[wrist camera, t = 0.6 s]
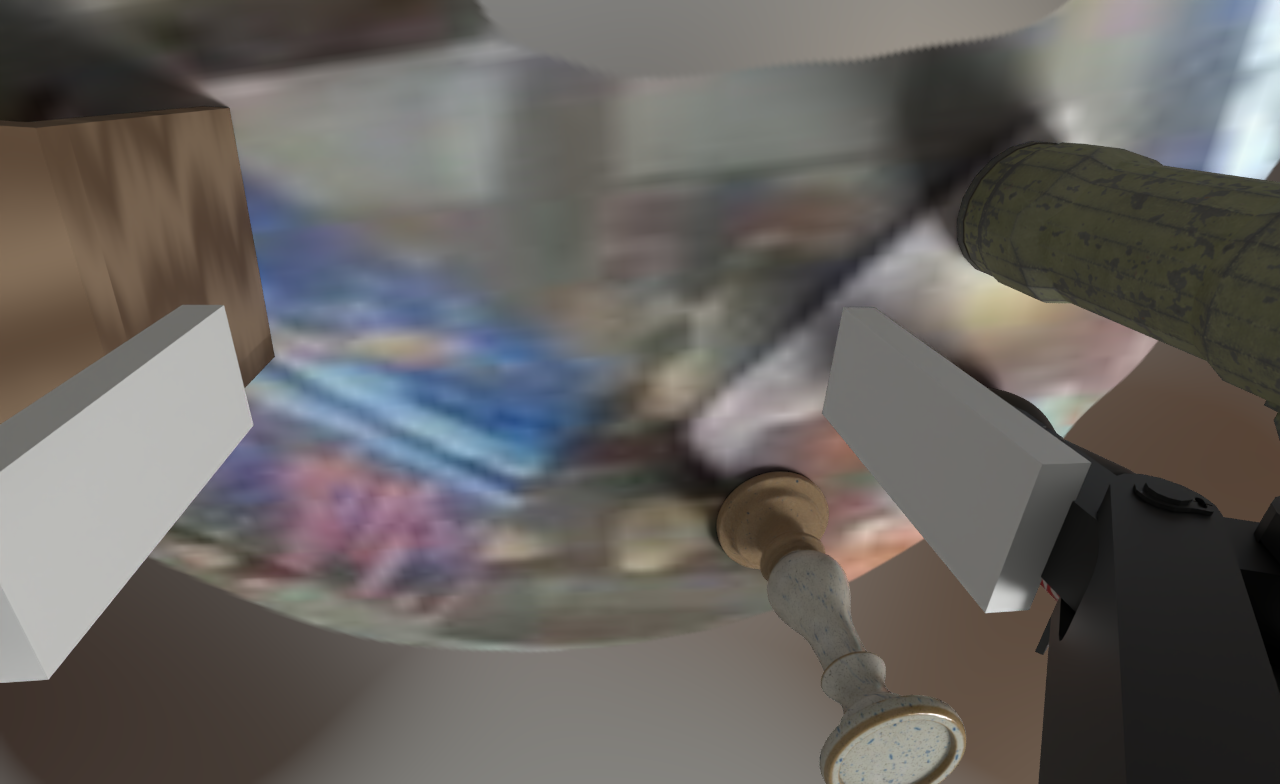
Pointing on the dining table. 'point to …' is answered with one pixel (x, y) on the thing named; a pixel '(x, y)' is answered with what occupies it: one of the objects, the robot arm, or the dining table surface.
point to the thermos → (1138, 249)
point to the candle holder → (836, 638)
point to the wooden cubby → (119, 241)
